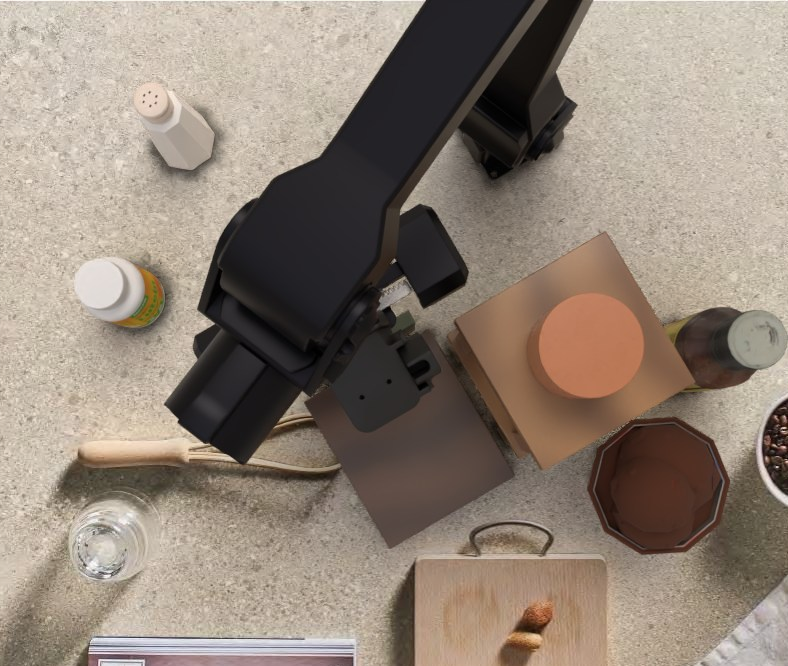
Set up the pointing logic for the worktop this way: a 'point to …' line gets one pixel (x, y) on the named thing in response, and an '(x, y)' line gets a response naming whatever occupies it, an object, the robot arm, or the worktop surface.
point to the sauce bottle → (727, 345)
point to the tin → (586, 347)
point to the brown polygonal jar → (658, 485)
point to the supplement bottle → (119, 292)
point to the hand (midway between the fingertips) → (341, 321)
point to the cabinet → (416, 455)
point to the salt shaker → (173, 126)
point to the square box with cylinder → (515, 379)
